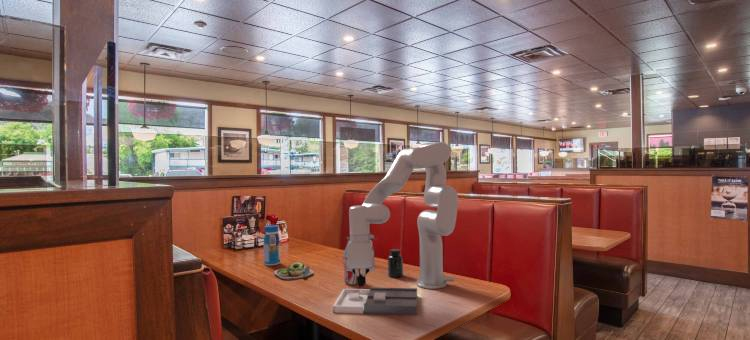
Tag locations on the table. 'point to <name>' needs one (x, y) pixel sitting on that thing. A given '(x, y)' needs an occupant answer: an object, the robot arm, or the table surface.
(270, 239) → the beverage bottle
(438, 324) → the table surface
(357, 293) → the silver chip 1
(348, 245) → the robot arm
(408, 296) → the slot block
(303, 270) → the salad plate
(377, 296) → the grey square block
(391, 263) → the supplement bottle
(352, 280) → the soda can
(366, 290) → the tray
